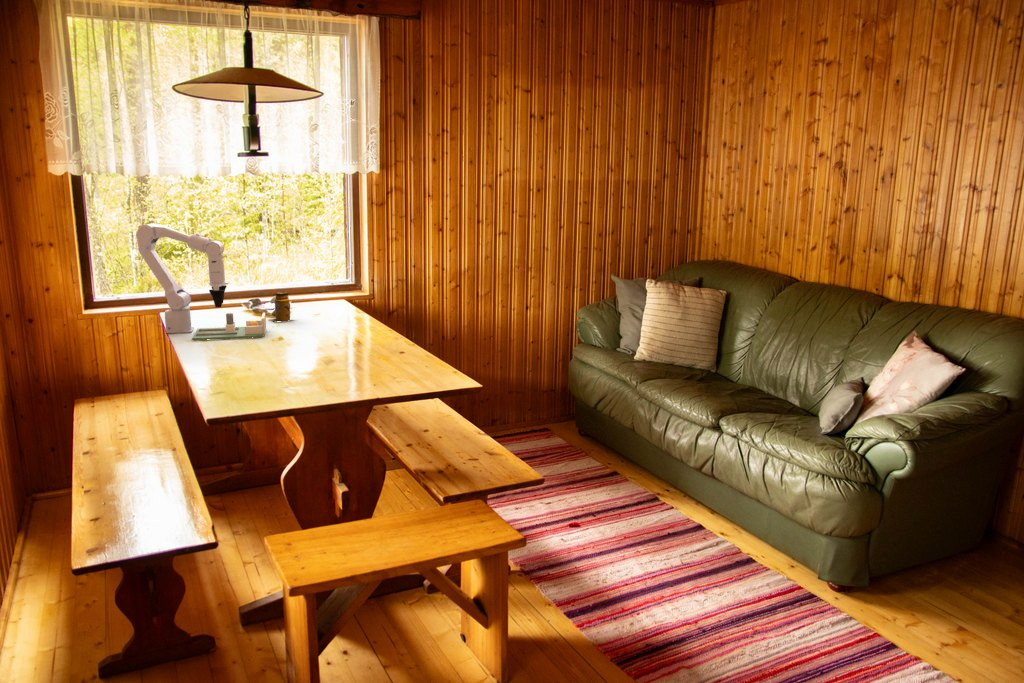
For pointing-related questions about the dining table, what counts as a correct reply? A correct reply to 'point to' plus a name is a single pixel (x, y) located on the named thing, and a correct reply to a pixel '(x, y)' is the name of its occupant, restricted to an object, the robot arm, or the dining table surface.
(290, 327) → the dining table surface
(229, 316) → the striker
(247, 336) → the pitch
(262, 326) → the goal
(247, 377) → the dining table surface
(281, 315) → the condiment
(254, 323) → the ball
